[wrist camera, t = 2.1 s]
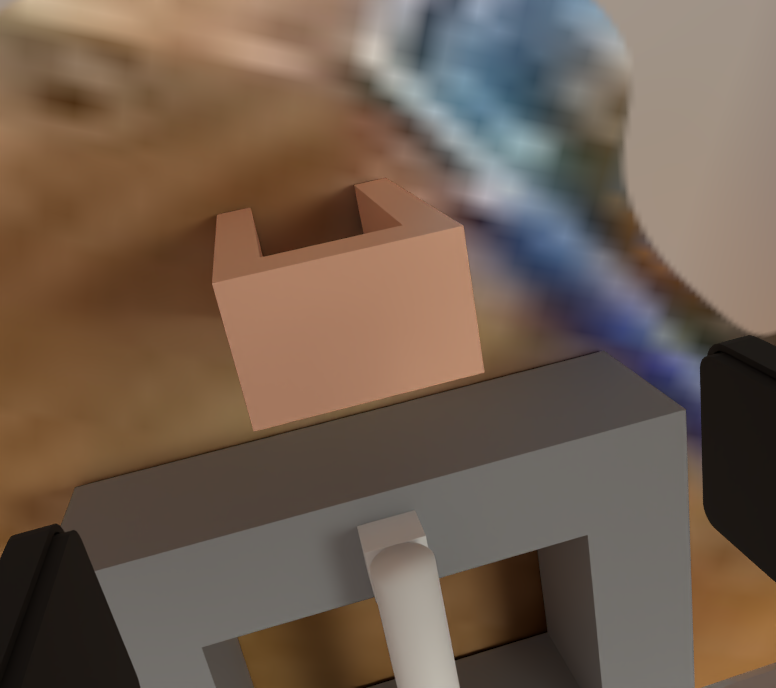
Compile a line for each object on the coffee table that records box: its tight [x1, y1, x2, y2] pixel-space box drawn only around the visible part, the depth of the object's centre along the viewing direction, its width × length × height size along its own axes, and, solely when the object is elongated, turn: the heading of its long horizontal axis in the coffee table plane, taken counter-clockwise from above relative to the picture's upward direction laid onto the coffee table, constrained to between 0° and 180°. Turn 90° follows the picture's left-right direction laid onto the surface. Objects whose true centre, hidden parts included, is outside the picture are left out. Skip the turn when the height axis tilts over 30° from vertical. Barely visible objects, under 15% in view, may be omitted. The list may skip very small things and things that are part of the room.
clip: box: [212, 178, 484, 432], centre depth 23 cm, size 6×4×10 cm, turn 101°
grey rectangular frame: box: [61, 351, 695, 688], centre depth 29 cm, size 22×18×10 cm
